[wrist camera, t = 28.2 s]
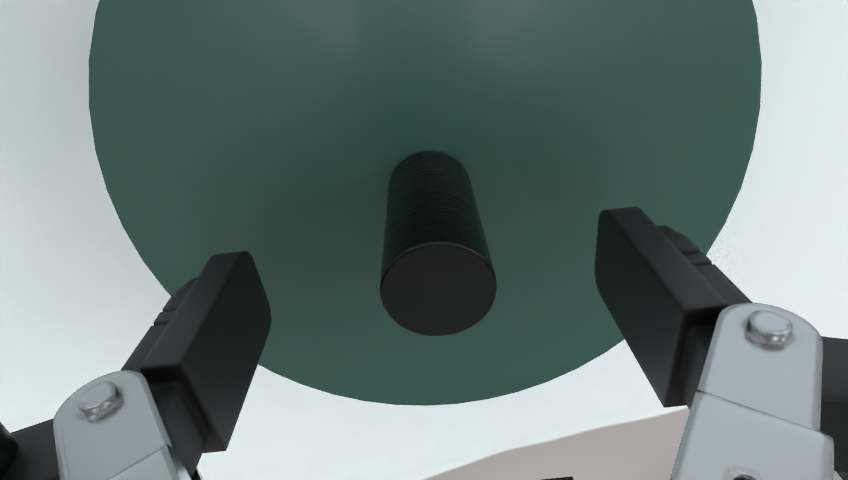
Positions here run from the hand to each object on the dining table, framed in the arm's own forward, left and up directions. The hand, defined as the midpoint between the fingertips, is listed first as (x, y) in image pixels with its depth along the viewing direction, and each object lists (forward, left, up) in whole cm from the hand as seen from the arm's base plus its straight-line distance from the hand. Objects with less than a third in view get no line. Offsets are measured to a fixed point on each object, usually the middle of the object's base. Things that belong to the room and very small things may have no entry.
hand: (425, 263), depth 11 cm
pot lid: (0, 0, -4) cm, 4 cm away
